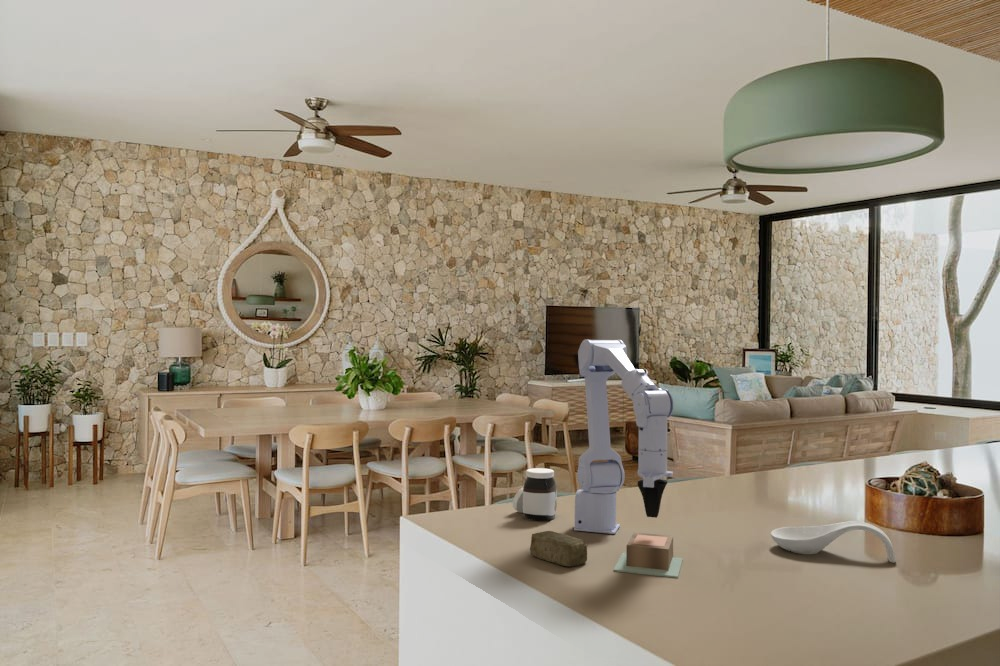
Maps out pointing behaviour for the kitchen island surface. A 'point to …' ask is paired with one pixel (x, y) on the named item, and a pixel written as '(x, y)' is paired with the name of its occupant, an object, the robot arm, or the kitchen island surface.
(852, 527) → the spoon rest
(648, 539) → the walnut block
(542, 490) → the spread jar
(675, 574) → the mat
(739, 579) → the kitchen island surface
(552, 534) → the stone block
